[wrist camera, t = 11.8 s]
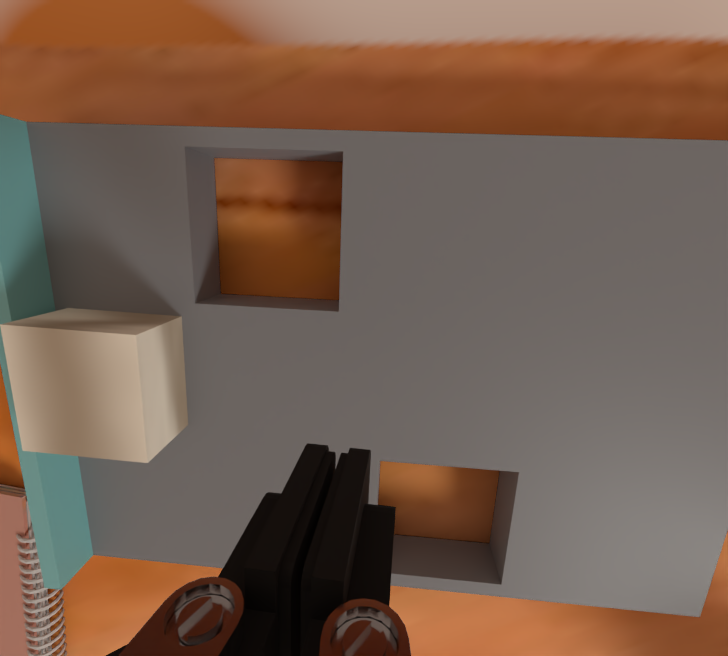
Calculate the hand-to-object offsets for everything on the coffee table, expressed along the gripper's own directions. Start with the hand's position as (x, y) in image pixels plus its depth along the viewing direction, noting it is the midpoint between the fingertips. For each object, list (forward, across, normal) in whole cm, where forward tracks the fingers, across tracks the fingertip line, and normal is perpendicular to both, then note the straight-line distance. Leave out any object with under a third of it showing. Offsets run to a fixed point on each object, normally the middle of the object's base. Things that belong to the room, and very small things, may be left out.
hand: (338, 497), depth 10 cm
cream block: (+6, +10, 0) cm, 12 cm away
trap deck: (+9, -1, 0) cm, 9 cm away
